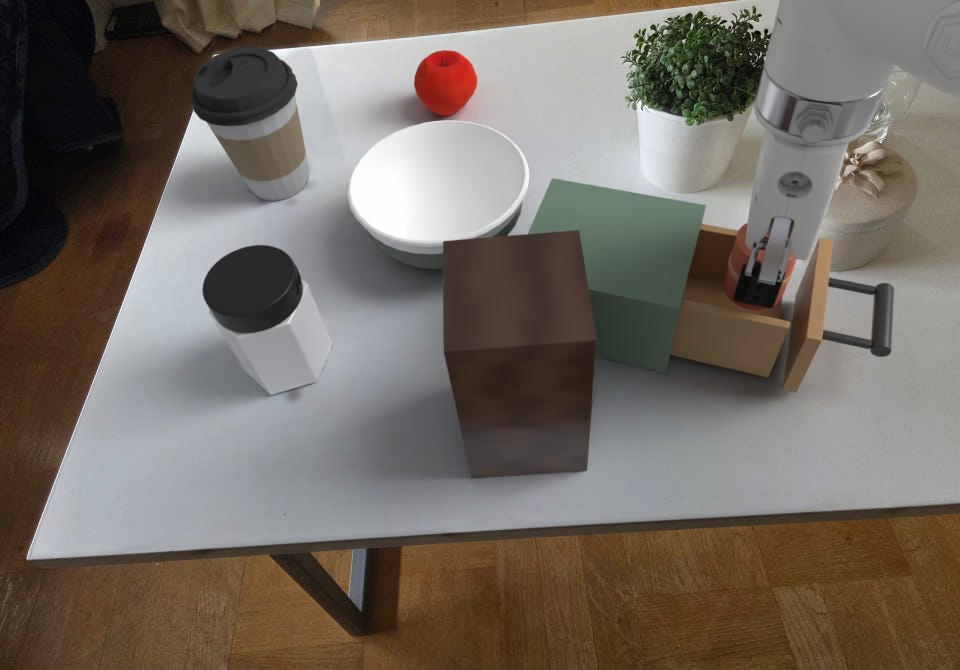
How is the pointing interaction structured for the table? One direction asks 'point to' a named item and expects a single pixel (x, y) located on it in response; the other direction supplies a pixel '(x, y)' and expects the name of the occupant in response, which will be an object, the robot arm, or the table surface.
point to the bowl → (437, 188)
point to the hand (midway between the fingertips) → (758, 273)
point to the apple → (445, 82)
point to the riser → (520, 351)
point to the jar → (268, 317)
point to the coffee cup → (255, 118)
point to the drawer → (766, 315)
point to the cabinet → (628, 263)
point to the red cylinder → (740, 258)
